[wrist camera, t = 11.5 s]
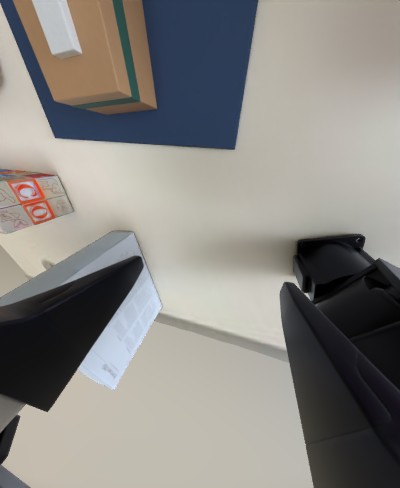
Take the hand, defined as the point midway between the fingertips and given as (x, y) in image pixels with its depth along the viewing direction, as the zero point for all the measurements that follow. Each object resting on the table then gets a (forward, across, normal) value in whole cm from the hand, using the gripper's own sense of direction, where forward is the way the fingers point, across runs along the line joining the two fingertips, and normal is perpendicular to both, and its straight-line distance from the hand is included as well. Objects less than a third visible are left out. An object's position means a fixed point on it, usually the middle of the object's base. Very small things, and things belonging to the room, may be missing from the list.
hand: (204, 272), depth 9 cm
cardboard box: (+12, +11, -14) cm, 22 cm away
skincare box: (+12, +17, +16) cm, 27 cm away
